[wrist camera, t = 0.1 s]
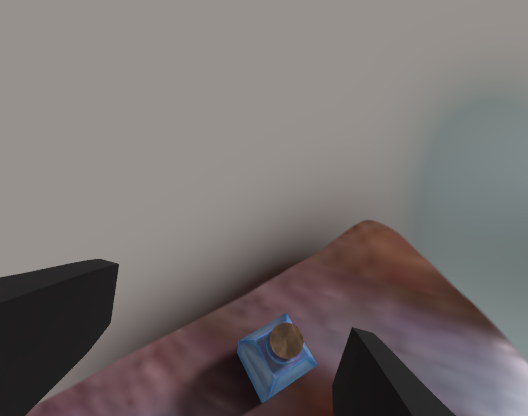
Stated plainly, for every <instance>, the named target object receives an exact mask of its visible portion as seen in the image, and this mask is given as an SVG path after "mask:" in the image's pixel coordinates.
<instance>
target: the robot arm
mask: <svg viewBox="0 0 528 416" xmlns="http://www.w3.org/2000/svg"><path fill="white" fill-rule="evenodd" d="M118 267H119V264H117V263H113V262H109V261H106V260H102V259H94V260H87V261H81V262H76V263H70V264H65V265H61V266H56V267H51V268H46V269H41V270H37V271H32V272H27V273H23V274H17V275H11V276H6V277H1V278H0V416H25V415H26V414H27V413H28V412H29V411H30V410H31V409H32V408H33V407H34V406H35V405H36V404H37V403H38V402H39V401H40V400H41V399H42V398H43V397H44V396H45V395H46V394H47V393H48V392H49V391H50V390H51V389H52V388H53V387H54V386H55V385H56V384H57V383H58V382H59V381H60V380H61V379H62V378H63V377H64V376H65V375H66V374H67V373H68V372H69V371H70V370H71V369H72V368H73V367H74V366H75V365H76V364H77V363H78V362H79V361H80V360H81V359H82V358H83V357H84V356H85V355H86V354H87V352H88V351H89V350H90V349H91V348H92V346H93V345H94V344H95V343H96V341H97V340H98V339H99V338H100V336H101V335H102V334H103V332H104V331H105V330H106V328H107V327H108V326H109V324H110V323H111V316H112V309H113V302H114V295H115V289H116V281H117V275H118ZM332 392H333V415H334V416H456V415H455V414H454V413H452V412H451V411H450V410H449V409H448V408H447V407H446V406H445V405H444V404H443V403H442V402H441V401H440V400H439V399H438V398H437V397H436V396H435V395H434V394H433V393H432V392H431V391H430V390H429V389H428V388H427V387H426V386H425V385H424V384H423V383H422V382H421V381H420V380H419V379H418V378H417V377H416V376H415V375H414V374H413V373H412V372H411V371H410V370H409V369H408V368H407V367H406V366H405V364H404V363H403V362H402V361H401V360H400V359H399V358H398V357H397V356H396V355H395V354H394V353H393V352H392V351H391V350H390V349H389V348H388V347H387V346H386V345H385V344H384V343H383V342H382V341H381V340H380V339H379V338H378V337H377V336H376V335H375V334H373V333H371V332H368V331H364V330H360V329H357V328H353V327H352V329H351V332H350V335H349V338H348V341H347V344H346V346H345V349H344V352H343V355H342V358H341V361H340V364H339V367H338V370H337V373H336V376H335V379H334V382H333V385H332Z"/></svg>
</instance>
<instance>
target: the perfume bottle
mask: <svg viewBox="0 0 528 416" xmlns="http://www.w3.org/2000/svg"><path fill="white" fill-rule="evenodd" d="M237 354H238V356H239V358H240V360H241V362H242V364H243V366H244V368H245V370H246V372H247V374H248V376H249V378H250V380H251V382H252V384H253V386H254V388H255V390H256V392H257V395H258V397H259V399H260V401H261V403H264V402H265V401H266V400H268V399H269V398H271V397H272V396H274V395H275V394H276V393H278V392H279V391H281V390H282V389H284V388H285V387H287V386H288V385H289V384H291V383H292V382H294V381H295V380H297V379H298V378H300V377H301V376H302V375H304V374H305V373H307V372H308V371H310V370H311V369H312V368H314V367H315V366H317V365H318V364H317V363H316V361H315V359H314V358H313V356H312V355H311V353H310V351H309V350H308V348H307V346H306V345H305V343H304V340H303V335H302V333H301V331H300V330H299V329H298V327H297V326H295V325H294V324H293V323H292V322H291V320H290V318H289V317H288V315H287V313H286V314H284V315H282V316H280V317H279V318H277V319H275V320H274V321H272V322H270V323H269V324H267V325H265V326H263V327H262V328H260V329H258V330H257V331H255V332H253V333H251V334H250V335H248V336H246V337H245V338H243V339H241V340H240V341H239V342H238V349H237Z"/></svg>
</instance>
